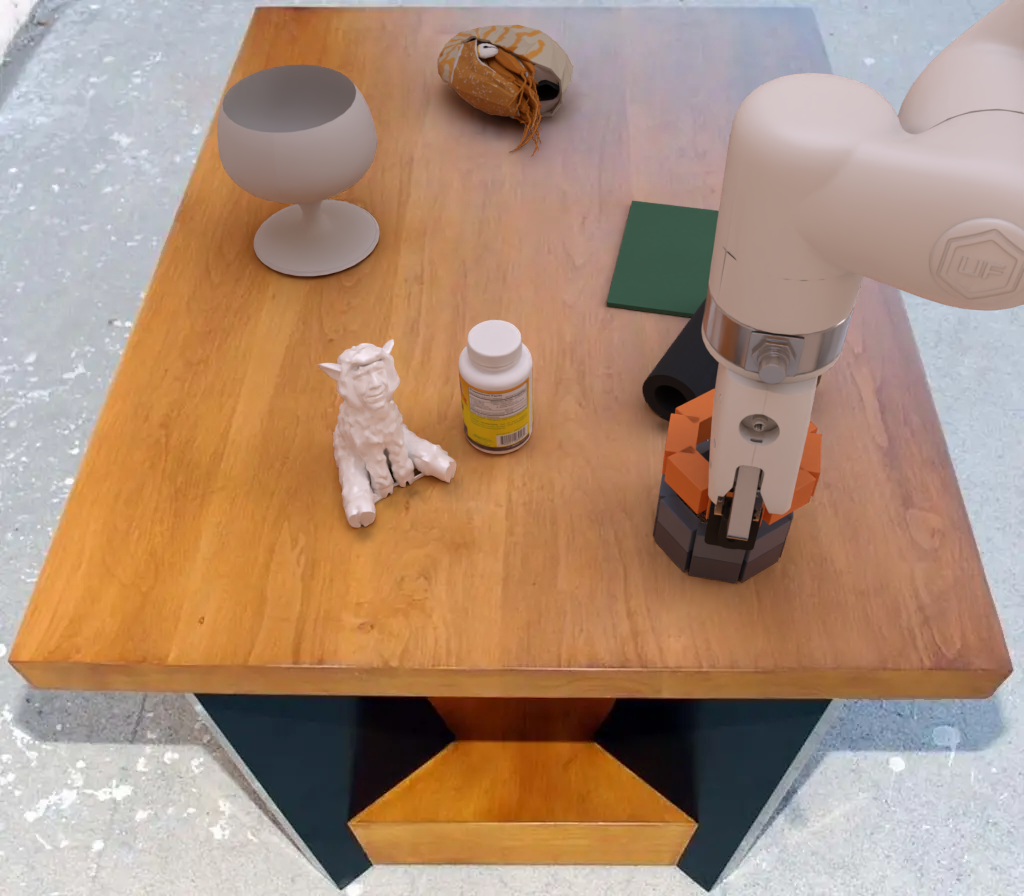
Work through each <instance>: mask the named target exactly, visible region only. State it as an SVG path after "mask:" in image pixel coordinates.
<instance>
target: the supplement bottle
mask: <svg viewBox="0 0 1024 896" xmlns="http://www.w3.org/2000/svg"><path fill="white" fill-rule="evenodd" d="M466 341H467V343H466V344H467V345H466V346H464V348H463V349H462V351H461V352H460V354H459V357H458V364H457V365H458V377H459V389H460V399H461V401H460V402H461V414H462V426H463V432H464V435H465V437H466V440H467V441H468V442H469V443H470V445H472V446H473V447H474V448H475V449H477V450H479V451H481V452H483V453H487V454H490V455H505V454H509V453H512V452H514V451H517V450H519V449H520V448H522V447H523V446H524V445H525V444H526V443H527V442H528V441H529V439H530V438H531V435H532V433H533V428H534V427H533V426H534V409H533V408H534V398H533V395H534V388H533V387H534V386H533V385H534V384H533V383H534V380H533V379H534V378H533V377H534V373H533V371H534V367H533V366H534V363H533V357H532V356H533V355H532V354H531V351H530V350H529V348H528V347H527V345H526V344H524V343H523V342H522V341H523V340H522V334H521V331H520V330H519V329H518V327H517V326H515V325H514V324H513V323H511V322H509V321H506V320H502V319H488V320H484V321H482V322H479V323H477V324H475V325H474V326H473V327H472V328H471V329H470V330H469V332H468V334H467V339H466Z"/></svg>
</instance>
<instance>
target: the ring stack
mask: <svg viewBox="0 0 1024 896" xmlns="http://www.w3.org/2000/svg"><path fill="white" fill-rule="evenodd" d="M696 450H697V451H698V452H699V453H700V454H701V455H702V456H703V457H704V458H705V459H706V460H707V461H708V462H709V457H710V438H709V439H707V440H706V441H704V442H702V443H700V444H698V445H696ZM794 514H795V511H793V512H791V513H790V514H788V515H786V516H784V517H783V518H781V519H779V520H777V521H776V522H774V523H772V524H771V525H768V524H767V523H766V522H765V521H764V520H763V519H762V521H761V525H760V527H759V530H758V534H757V538H756V542H755V546H754V549H753V550H750V551H747V550H740V549H727V548H723V547H721V546H715V545H709V544H707V543H705V541H704V539H705V532H706V526H707V522H704V521H701V519H700V518H699V517H698V516H697V514H696V513H695V512H694V511H693V510H692V509H691V508H690V507H689V506H688V505H687V504H685V501H684V500H683V499H682V498H681V497H680V496H679V495H678V494H677V493H676V492H675V491H674V490H673V489H672V488H671V487H670V486H669V485H668V484H667V483H666V482H665V474H662V473H661V480H660V486H659V492H658V498H657V505H656V511H655V516H654V524H653V531H652V537H654V542H655V543H656V544H657V546H659V547H660V549H661V550H662V551H663V552H664V553H665V554H666V555H667V556H668V558H669V559H671V561H672V562H673V563H674V564H675V565H676V567H678V569H679V570H680V571H681V572H682V573H685V572H687V571H688V576H690V577H698V578H703V579H708V580H714V581H720V582H724V583H725V582H726V583H731V584H737V583H738V580H739V581H740V582H741V583H744V582H746V581H747V580H749V579H750V578H752V577H754V576H755V575H757V574H759V573H761V572H762V571H765V570H766V569H767V568H769V567H771V566H772V565H774V564H776V563H778V562H779V559H780V558H781V557H782V555H783V551H784V548H785V545H786V542H787V539H788V535H789V533H790V529H791V525H792V523H793V520H794V516H795V515H794Z"/></svg>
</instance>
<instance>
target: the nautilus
mask: <svg viewBox="0 0 1024 896" xmlns="http://www.w3.org/2000/svg"><path fill="white" fill-rule="evenodd" d="M436 64H437V74H438V76H439V77H440V78H441V80H442V81H443V82H444V84H446V85H448V86H449V87H451V88H452V89H453V90H454V91H455V92H456V93H457V94H458V96H460V98H461V99H463V100H464V101H465V102H466V103H468V104H469V105H470V106H471V107H474V109H477V110H480V111H481V112H483V113H485V114H487V115H490V116H500V117H510V118H511V119H515V120H518V121H519V124H524V128H523V129H524V130H523V133H522V137H521V140H520V142H519V144H518V145H517V146H516V148H514V149H513V150H511V151H508V153H510V154H511V153H513V152H515V151H517V150H519V149H520V148H521V147H523V145H527V144H528V143H529V142H530V140H532V141H533V142H534V144H535V147H534V150H533V153H532V154H531V155H530V157H531V158H532V157H533V156H534V155H535V153H536V152H537V151H538V152H539V151H540V147H539V145H538V144H539V143H540V144H542V141H541V139H540V130H542V128H541V125H540V122H541V120H542V117H544V118H545V117H546V118H547V117H548V118H553V117H554V116H555V114H556V113H557V112H558V110H559V108H560V107H561V106H562V104H563V100H564V96H565V93H566V90H567V88H568V86H569V85H570V84H571V82H572V79H573V73H574V65H573V63H572V61H571V59H570V57H569V54H568V53H567V52H566V51H565V50H564V49H563V47H562V46H561V45H560V44H559V43H558V41H556V40H554V39H553V38H552V37H551V36H550V35H549V34H547V33H545V32H543V31H542V30H540V29H537V28H532V27H528V26H525V25H521V24H508V25H507V24H506V25H505V24H504V25H503V24H501V25H499V24H498V25H497V24H496V25H486V26H480V27H476V28H472V29H470V30H469V29H468V30H464V31H460V32H458V33H456V35H454V36H453V37H452V38H451V39H449V40H448V41H446V43H445V44H444V46H443V48H442V49H441V51H440V53H439V55H438V58H437V63H436ZM539 129H540V130H539ZM528 132H529V135H528V136H527V134H528ZM534 135H535V136H536V139H535V138H534Z"/></svg>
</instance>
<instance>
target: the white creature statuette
mask: <svg viewBox="0 0 1024 896" xmlns="http://www.w3.org/2000/svg"><path fill="white" fill-rule="evenodd" d="M394 345H395V340H394V338H392V339H389V340H388V341H386V342H385V343H384V344H383V346H382V347H380V346H377V345H375V344H374V343H370V342H361V343H359V344H358V345H352V346H351V348H347V349H344V351H342V353H341V354H340V355H338V357H337V360H336V363H335V362H321V363H318V364H317V367H318V368H319V369H320V370H321V371H323V373H325V374H326V375H327V377H329V378H330V379H332V380H333V381H336V393H337V394H338V395H339V397H340V398H341V399H343V400H342V402H341V403H340V405H339V408H338V412H339V413H338V414H337V416H336V419H337V423H336V425H335V429H334V431H333V432H332V440H333V443H332V447H333V450H334V451H333V457H334V460H335V466H336V467H337V468H338V471H337V472H338V482H339V485H340V487H341V491H342V492H341V493H340V496H341V497H342V508H343V509H344V513H345V517H346V520H347V523H348V524H349V526H350V527H352V528H355V529H358V528H361V527H362V526H363V527H365V528H366V527H368V526H369V525H371V524H373V523H374V522H375V520H376V517H377V509H376V506H375V504H377V503H378V502H380V501H381V500H382V499H386V498H387V497H388V495H389V494H390V495H393V494H394V488H395V487H397V486H400V487H401V488H407V487H406V486H407V482H408V484H409V485H410V486H411V485H413V483H415V481H417V480H419V479H421V478H423V477H425V476H428V477H429V476H432V477H434V478H437V479H438V480H440V481H441V482H442V481H443V482H446V483H448V484H450V483H451V479H454V478H455V475H456V472H457V468H458V467H457V466H458V465H457V461H456V460H455V458H453V457H452V456H450V455H449V453H448V451H447V450H445V449H443V448H442V446H441V445H440V444H434V443H432V442H431V441H429V440H427V439H426V438H422V437H419V436H417V435H416V433H415V432H414V431H412V430H410V429H409V428H408V425H407V424H405V423H404V422H403V419H404V418H403V417H404V416H403V414H402V412H400V409H399V406H398V404H396V403H395V400H394V393H395V391H396V390H397V389H398V387H399V385H400V383H401V378H400V376H399V374H398V372H397V370H396V368H395V359H394V356H393V355H392V354H391V353H392V349H393V347H394ZM390 470H391V472H392V474H391V472H390ZM415 470H417V471H418V472H420V473H419V474H417V475H415ZM392 476H393V477H392ZM393 478H394V479H393ZM394 480H395V482H394Z"/></svg>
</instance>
